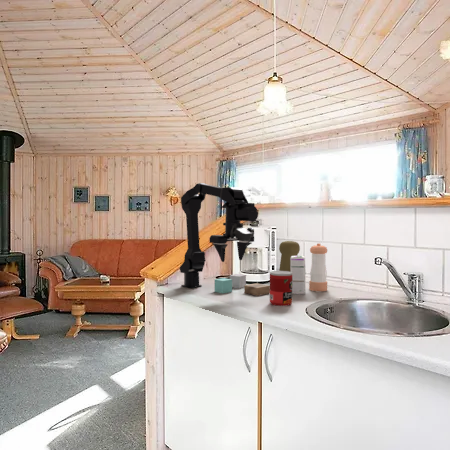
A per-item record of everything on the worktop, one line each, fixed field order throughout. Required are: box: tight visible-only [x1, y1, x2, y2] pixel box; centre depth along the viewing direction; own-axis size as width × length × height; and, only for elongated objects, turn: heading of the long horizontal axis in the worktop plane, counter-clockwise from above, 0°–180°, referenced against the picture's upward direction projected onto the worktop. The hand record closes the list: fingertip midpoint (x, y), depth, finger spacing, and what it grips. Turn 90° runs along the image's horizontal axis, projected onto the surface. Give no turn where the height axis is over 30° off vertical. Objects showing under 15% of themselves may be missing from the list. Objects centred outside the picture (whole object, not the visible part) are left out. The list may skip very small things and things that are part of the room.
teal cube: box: [214, 277, 233, 294], centre depth 162 cm, size 5×5×5 cm
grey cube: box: [229, 273, 247, 289], centre depth 174 cm, size 5×5×5 cm
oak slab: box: [243, 282, 270, 297], centre depth 160 cm, size 7×7×3 cm
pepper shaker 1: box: [278, 240, 301, 272], centre depth 179 cm, size 10×10×19 cm
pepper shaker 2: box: [308, 242, 328, 292], centre depth 167 cm, size 7×7×19 cm
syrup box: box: [290, 255, 306, 295], centre depth 161 cm, size 6×6×14 cm
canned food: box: [269, 270, 293, 307], centre depth 142 cm, size 8×8×11 cm
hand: (231, 261), depth 155 cm, fingers open, 9 cm apart
